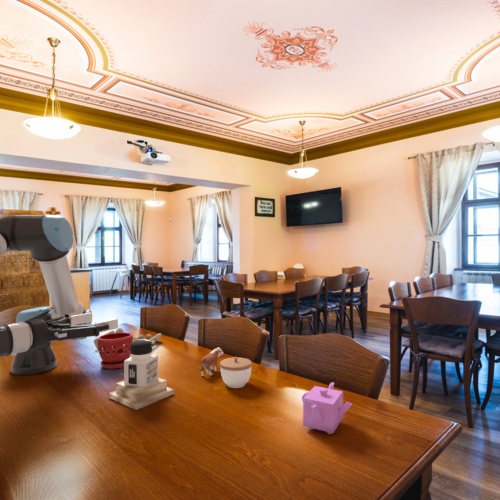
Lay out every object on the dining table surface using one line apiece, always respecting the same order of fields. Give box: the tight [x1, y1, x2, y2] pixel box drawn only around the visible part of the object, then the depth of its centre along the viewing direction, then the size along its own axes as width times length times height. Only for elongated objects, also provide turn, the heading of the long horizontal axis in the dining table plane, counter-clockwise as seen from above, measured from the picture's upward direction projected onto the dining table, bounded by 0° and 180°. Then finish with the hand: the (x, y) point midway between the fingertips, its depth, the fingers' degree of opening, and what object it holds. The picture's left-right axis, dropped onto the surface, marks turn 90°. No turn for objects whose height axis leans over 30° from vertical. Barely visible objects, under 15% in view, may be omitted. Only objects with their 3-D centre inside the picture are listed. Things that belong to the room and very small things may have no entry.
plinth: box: [108, 377, 174, 411], centre depth 114 cm, size 14×14×4 cm
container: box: [123, 338, 159, 387], centre depth 114 cm, size 8×8×13 cm
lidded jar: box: [219, 356, 253, 389], centre depth 123 cm, size 11×11×9 cm
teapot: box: [301, 381, 353, 434], centre depth 95 cm, size 18×13×10 cm
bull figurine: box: [200, 347, 224, 377], centre depth 136 cm, size 4×13×8 cm, turn 155°
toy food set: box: [93, 327, 162, 350], centre depth 172 cm, size 25×18×8 cm
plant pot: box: [97, 332, 134, 370], centre depth 144 cm, size 13×13×12 cm
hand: (104, 320), depth 109 cm, fingers open, 13 cm apart
